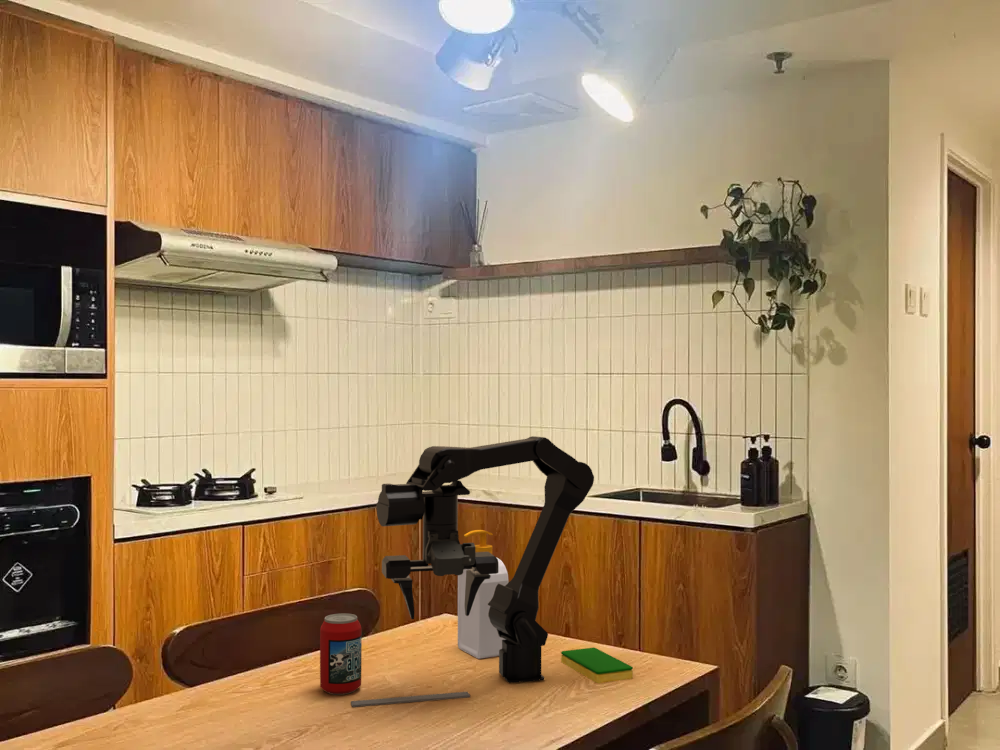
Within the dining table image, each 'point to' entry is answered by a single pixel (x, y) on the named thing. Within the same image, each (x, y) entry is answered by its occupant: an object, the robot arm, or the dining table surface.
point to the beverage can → (340, 654)
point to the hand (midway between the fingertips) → (439, 617)
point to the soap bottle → (480, 610)
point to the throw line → (409, 699)
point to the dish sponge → (597, 665)
